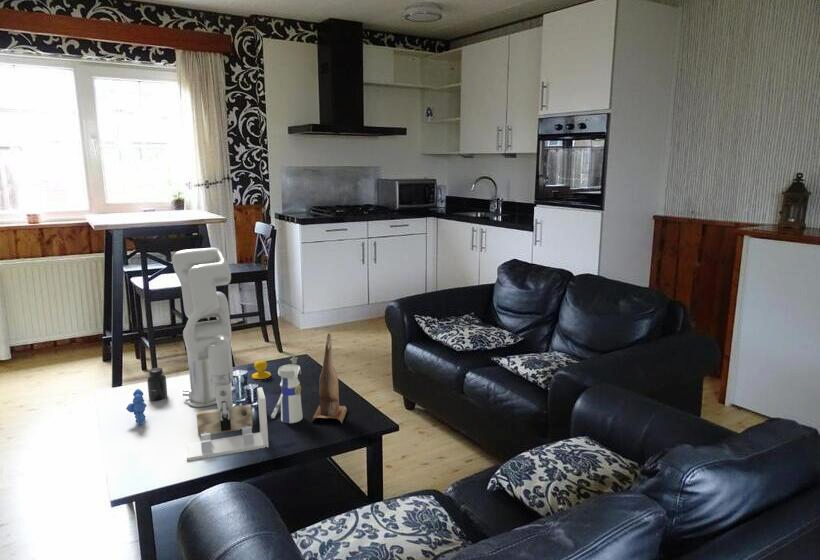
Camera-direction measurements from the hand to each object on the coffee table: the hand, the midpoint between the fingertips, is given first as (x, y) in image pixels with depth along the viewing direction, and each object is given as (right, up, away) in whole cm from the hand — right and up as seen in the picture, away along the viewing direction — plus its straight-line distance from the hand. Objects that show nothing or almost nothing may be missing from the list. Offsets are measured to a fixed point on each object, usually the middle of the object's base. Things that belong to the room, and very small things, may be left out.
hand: (225, 425), depth 203 cm
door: (0, -2, 0) cm, 2 cm away
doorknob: (0, +8, +51) cm, 52 cm away
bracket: (+15, +2, +20) cm, 25 cm away
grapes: (-34, -1, +8) cm, 35 cm away
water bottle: (+21, 0, +9) cm, 23 cm away
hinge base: (+4, -4, -12) cm, 13 cm away
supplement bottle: (-36, +3, +29) cm, 46 cm away
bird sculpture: (+35, 0, +10) cm, 36 cm away
